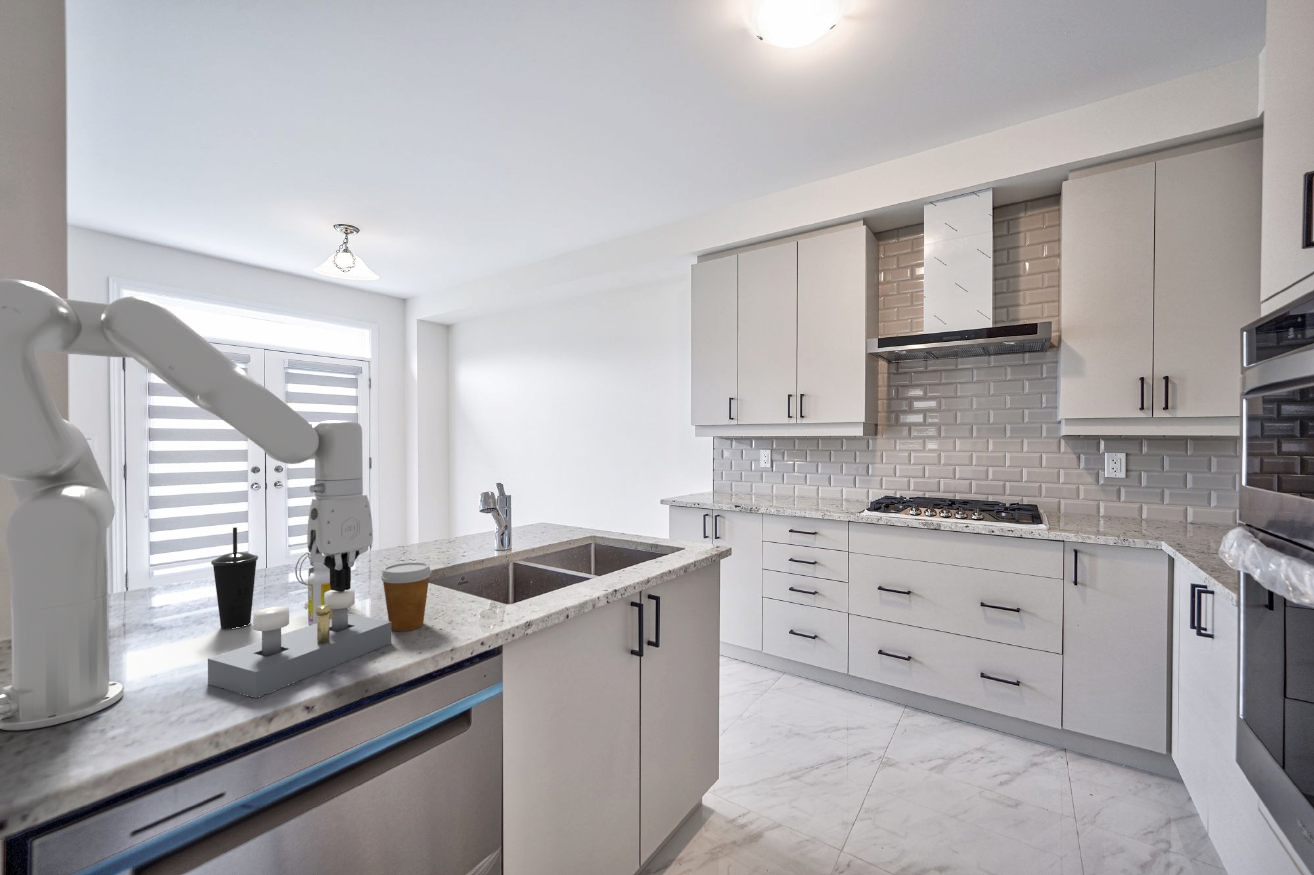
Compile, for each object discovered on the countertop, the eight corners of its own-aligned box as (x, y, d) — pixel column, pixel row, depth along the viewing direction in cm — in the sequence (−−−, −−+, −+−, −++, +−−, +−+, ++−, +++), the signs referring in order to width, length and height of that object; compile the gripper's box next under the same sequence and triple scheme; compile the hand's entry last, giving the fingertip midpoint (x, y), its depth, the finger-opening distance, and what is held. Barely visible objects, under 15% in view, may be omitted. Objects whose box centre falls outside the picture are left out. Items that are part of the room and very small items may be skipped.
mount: (255, 698, 83) (255, 671, 83) (207, 683, 88) (207, 658, 88) (391, 643, 105) (391, 621, 105) (347, 633, 110) (347, 613, 110)
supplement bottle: (352, 617, 120) (352, 557, 120) (331, 628, 113) (330, 564, 113) (322, 616, 120) (322, 556, 120) (300, 626, 114) (299, 563, 114)
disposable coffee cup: (426, 615, 121) (425, 559, 121) (436, 628, 113) (436, 568, 113) (377, 623, 116) (376, 565, 116) (384, 637, 108) (384, 575, 108)
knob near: (265, 660, 88) (265, 617, 88) (246, 655, 90) (246, 613, 90) (296, 649, 92) (295, 608, 92) (277, 645, 94) (277, 605, 94)
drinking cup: (201, 630, 112) (201, 529, 111) (238, 617, 119) (238, 523, 119) (232, 633, 110) (231, 531, 110) (267, 620, 117) (267, 525, 117)
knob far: (336, 635, 99) (336, 596, 99) (318, 631, 101) (318, 593, 101) (360, 626, 103) (360, 589, 103) (342, 623, 105) (342, 586, 105)
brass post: (321, 645, 93) (321, 609, 93) (312, 643, 94) (312, 607, 94) (333, 640, 95) (333, 605, 95) (325, 638, 96) (324, 604, 96)
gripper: (313, 494, 93) (314, 604, 94) (389, 485, 107) (390, 581, 107) (284, 492, 96) (285, 598, 97) (361, 484, 110) (362, 577, 110)
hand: (340, 589), depth 102 cm, fingers closed
